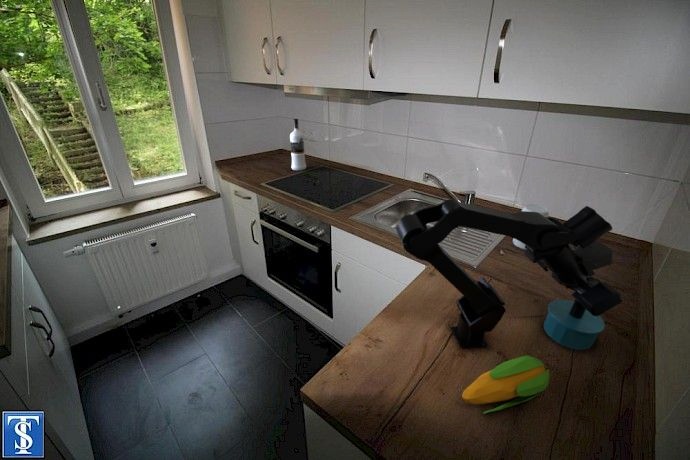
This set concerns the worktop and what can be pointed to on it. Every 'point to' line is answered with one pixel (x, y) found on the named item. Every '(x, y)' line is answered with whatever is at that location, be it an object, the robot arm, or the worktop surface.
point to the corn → (509, 383)
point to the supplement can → (531, 208)
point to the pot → (567, 335)
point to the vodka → (297, 148)
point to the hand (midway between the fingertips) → (589, 297)
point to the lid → (575, 317)
